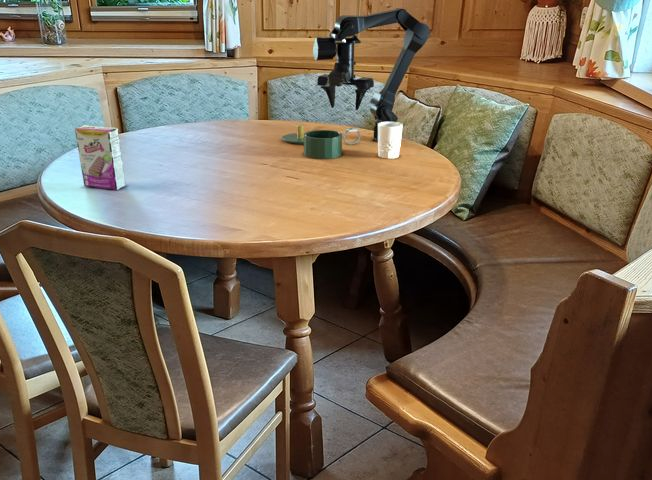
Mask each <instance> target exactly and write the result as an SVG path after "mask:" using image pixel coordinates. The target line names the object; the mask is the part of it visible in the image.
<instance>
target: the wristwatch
mask: <svg viewBox="0 0 652 480" xmlns="http://www.w3.org/2000/svg"><path fill="white" fill-rule="evenodd" d="M353 132H356V133H357V138H356V140H354V141H352V142H348V141H347V140H346V135H347V133H353ZM360 139H361V133H360V131H359V130H358V128H356V127H351V128H350V127H349V128H346V129H345V131H344V132H343V133H342V141H344V143H346V144H348V145H354V144H356V143H358V142H359V141H360Z"/></svg>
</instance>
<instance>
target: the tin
mask: <svg viewBox="0 0 652 480" xmlns="http://www.w3.org/2000/svg"><path fill="white" fill-rule="evenodd" d="M304 133H305V134H304V144H303V153H304V156H305V157H307V158H310V159H314V160H316V159H317V160H331V159H336V158H339V157H341V156H342V154H343V133H341V132H340V131H337V130H331V129H315V130H309V131H306V132H304Z"/></svg>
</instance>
